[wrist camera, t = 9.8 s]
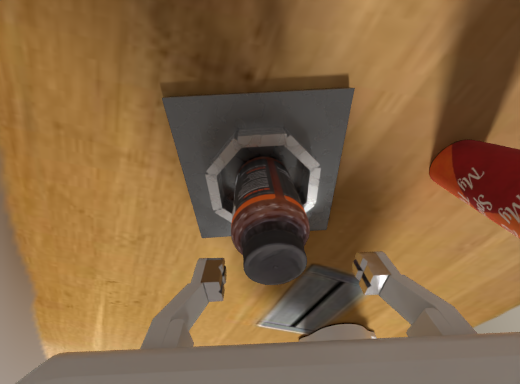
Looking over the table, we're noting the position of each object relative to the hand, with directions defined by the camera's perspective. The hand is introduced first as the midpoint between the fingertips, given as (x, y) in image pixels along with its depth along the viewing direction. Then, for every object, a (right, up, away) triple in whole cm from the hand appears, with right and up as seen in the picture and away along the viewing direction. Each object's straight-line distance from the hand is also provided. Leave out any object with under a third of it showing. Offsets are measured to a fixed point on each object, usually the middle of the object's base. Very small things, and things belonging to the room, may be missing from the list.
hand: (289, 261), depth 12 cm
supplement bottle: (-2, +6, +10) cm, 11 cm away
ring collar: (-2, +6, +10) cm, 12 cm away
